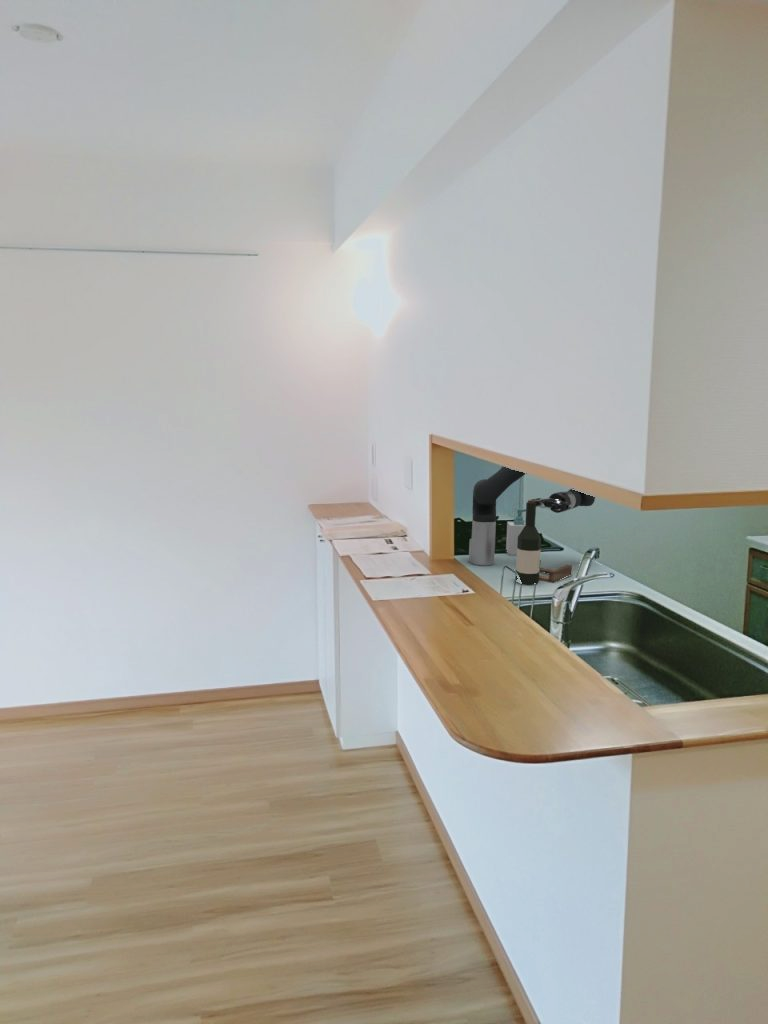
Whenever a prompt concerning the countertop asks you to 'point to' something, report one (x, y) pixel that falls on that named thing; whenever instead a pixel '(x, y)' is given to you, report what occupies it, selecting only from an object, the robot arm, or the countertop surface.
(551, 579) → the cradle
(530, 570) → the wine bottle
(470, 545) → the robot arm
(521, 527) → the soap bottle
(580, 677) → the countertop surface
